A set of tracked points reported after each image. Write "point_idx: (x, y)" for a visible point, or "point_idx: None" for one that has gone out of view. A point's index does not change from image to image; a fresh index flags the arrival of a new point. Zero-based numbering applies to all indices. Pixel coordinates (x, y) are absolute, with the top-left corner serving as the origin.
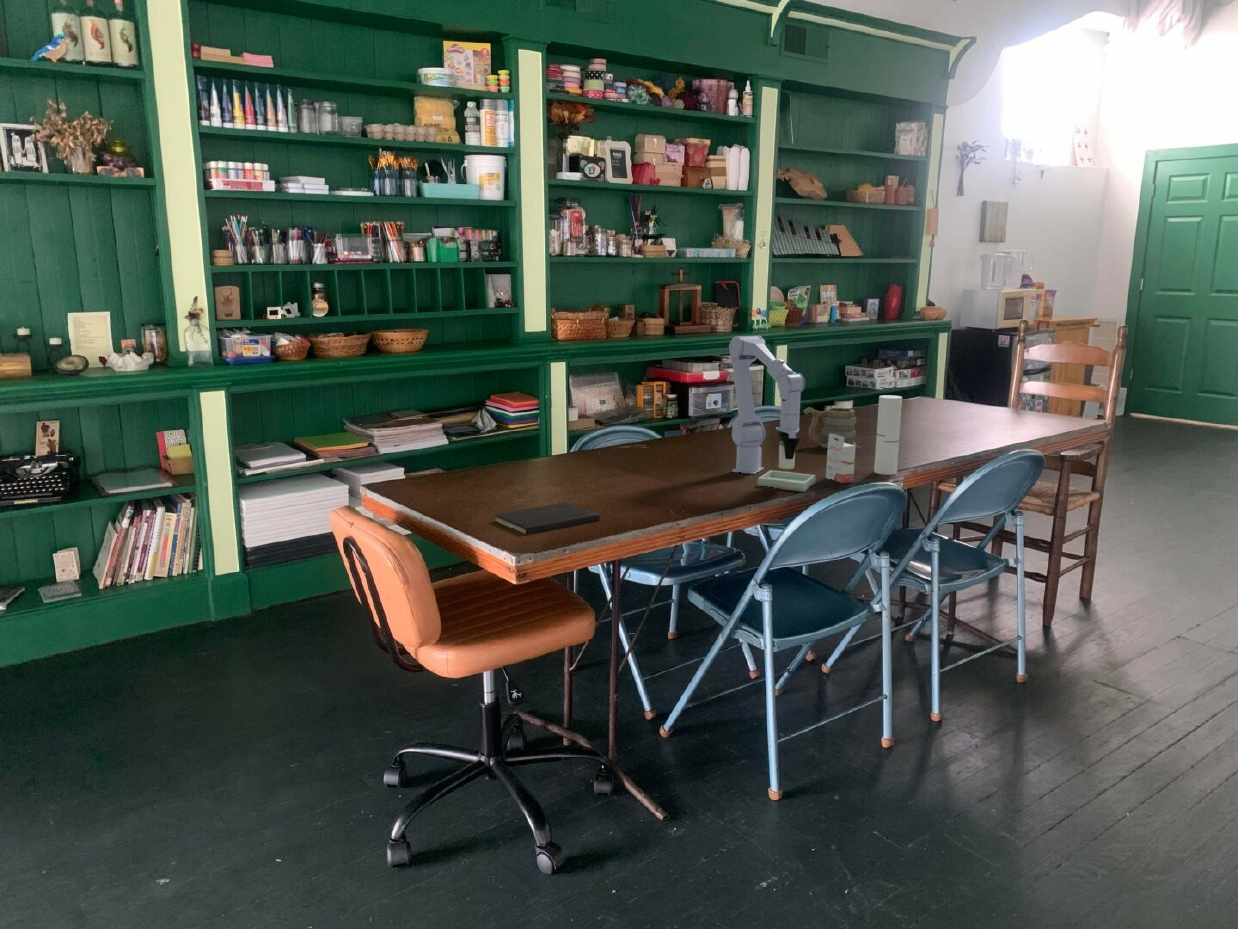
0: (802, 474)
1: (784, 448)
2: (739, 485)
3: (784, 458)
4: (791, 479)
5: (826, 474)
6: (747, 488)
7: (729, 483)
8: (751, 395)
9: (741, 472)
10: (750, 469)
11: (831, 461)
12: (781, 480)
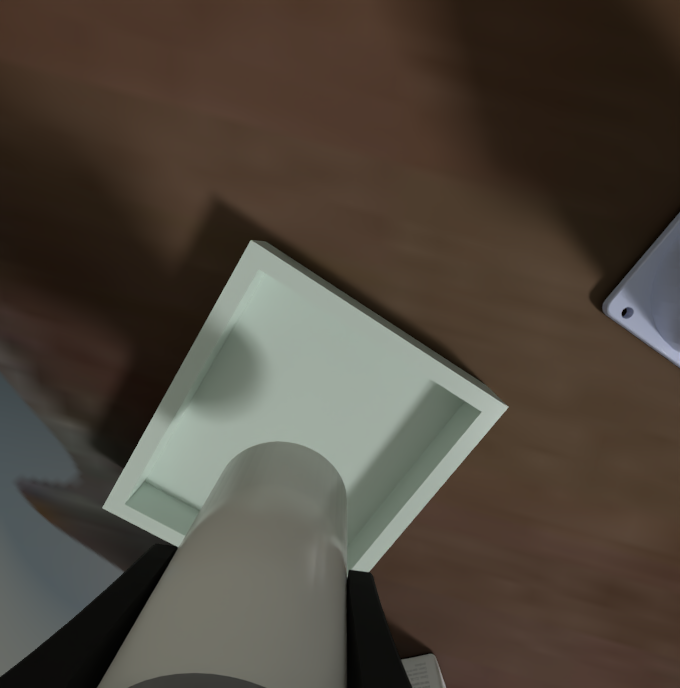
0: (354, 563)
1: (61, 661)
2: (294, 108)
3: (186, 536)
4: (364, 484)
5: (433, 675)
6: (203, 149)
7: (364, 35)
8: None
9: (673, 220)
10: (667, 289)
11: None
12: (180, 395)
